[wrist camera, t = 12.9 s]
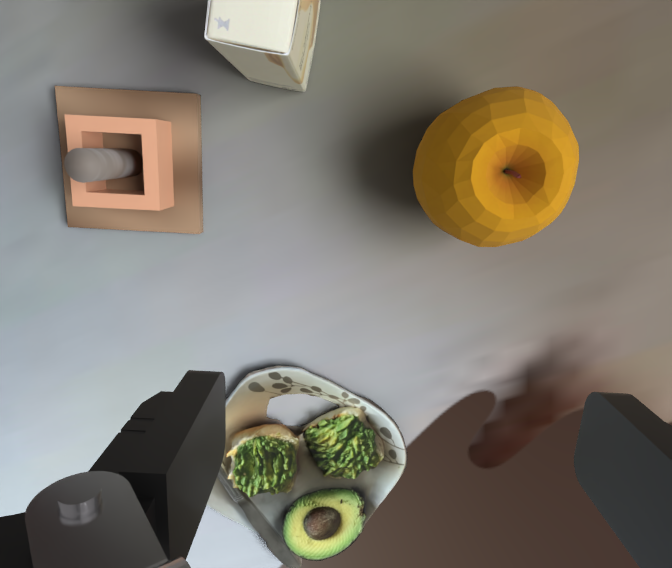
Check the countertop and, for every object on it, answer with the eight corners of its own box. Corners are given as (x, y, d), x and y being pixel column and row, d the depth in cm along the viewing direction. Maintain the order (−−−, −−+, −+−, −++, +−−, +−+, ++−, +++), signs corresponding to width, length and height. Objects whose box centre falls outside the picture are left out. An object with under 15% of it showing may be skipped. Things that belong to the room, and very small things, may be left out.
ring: (87, 117, 35) (64, 114, 32) (171, 121, 35) (155, 119, 32) (94, 201, 37) (72, 206, 34) (174, 205, 37) (159, 210, 34)
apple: (475, 67, 35) (540, 27, 24) (559, 166, 37) (658, 174, 25) (376, 166, 37) (392, 174, 25) (461, 256, 38) (511, 300, 27)
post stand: (62, 87, 35) (-15, 70, 28) (200, 95, 35) (161, 79, 28) (74, 224, 38) (7, 243, 30) (203, 231, 38) (168, 252, 30)
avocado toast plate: (140, 472, 44) (118, 508, 40) (239, 316, 40) (227, 337, 36) (320, 567, 47) (318, 611, 43) (429, 430, 43) (440, 462, 39)
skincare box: (306, 93, 35) (290, 64, 24) (247, 81, 35) (200, 46, 23) (323, -4, 34) (314, -88, 22) (261, -18, 34) (218, -109, 22)
